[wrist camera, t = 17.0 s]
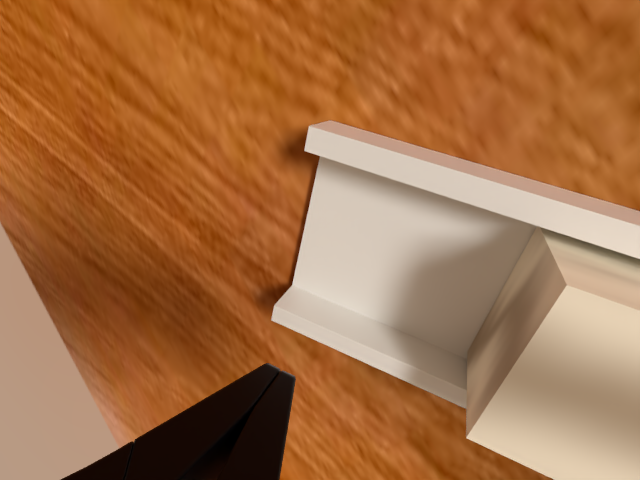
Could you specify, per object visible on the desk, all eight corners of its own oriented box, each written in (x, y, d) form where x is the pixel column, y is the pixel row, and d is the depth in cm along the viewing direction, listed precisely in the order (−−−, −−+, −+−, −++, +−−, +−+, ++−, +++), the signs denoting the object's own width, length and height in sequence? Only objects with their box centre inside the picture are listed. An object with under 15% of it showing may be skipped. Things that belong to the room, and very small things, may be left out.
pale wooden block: (642, 424, 16) (705, 551, 11) (467, 351, 17) (466, 437, 13) (768, 298, 12) (923, 410, 8) (538, 224, 14) (567, 285, 10)
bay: (626, 439, 17) (649, 492, 15) (291, 295, 21) (271, 320, 19) (808, 260, 12) (881, 299, 10) (330, 120, 16) (308, 126, 14)
